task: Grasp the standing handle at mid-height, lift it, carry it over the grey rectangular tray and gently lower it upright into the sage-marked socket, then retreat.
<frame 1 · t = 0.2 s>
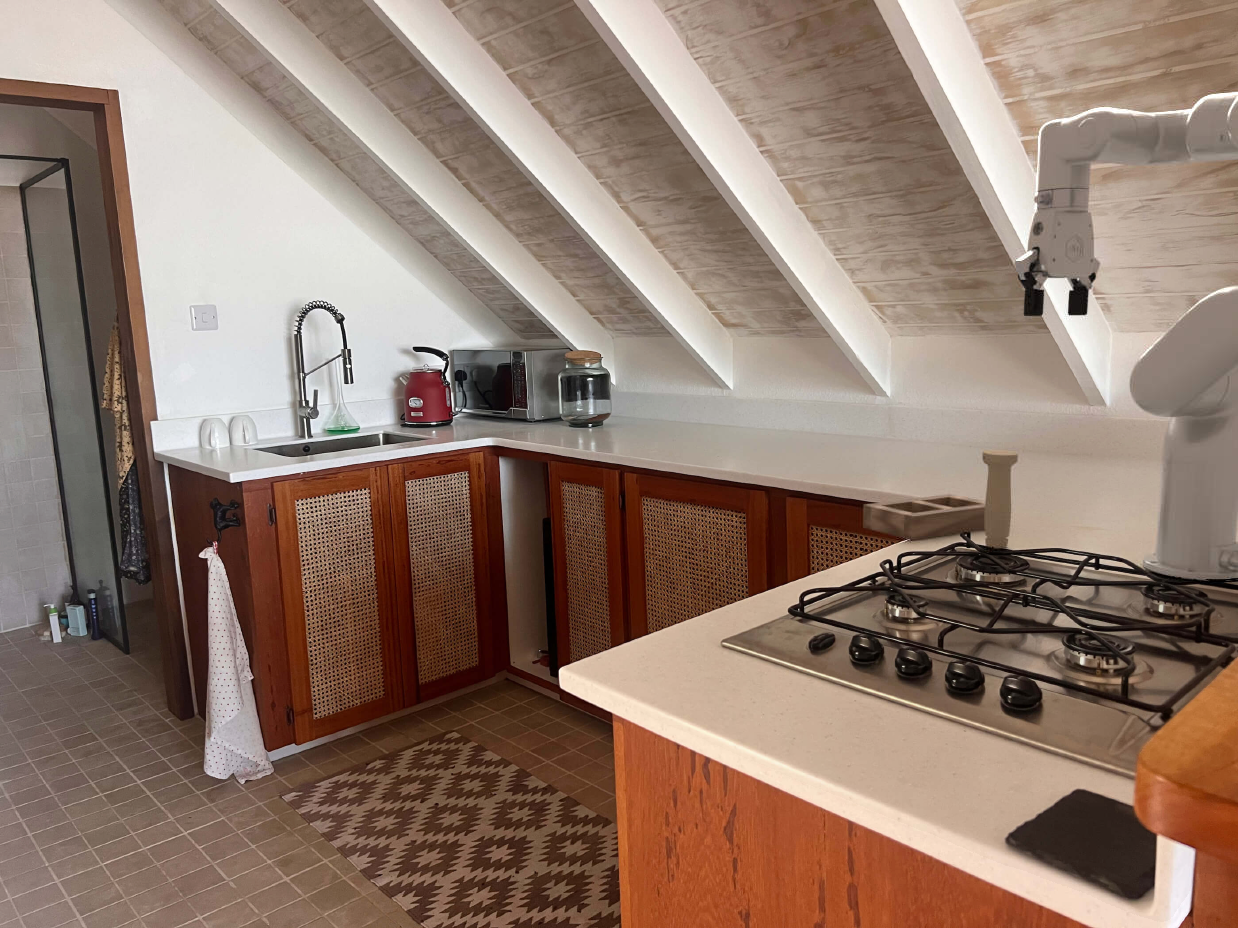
hand: (1055, 315, 151), 36 cm above the worktop, tool pointing down, fingers open, 9 cm apart
handle: (996, 548, 151), on the worktop
grey rectangular tray: (931, 527, 166), on the worktop
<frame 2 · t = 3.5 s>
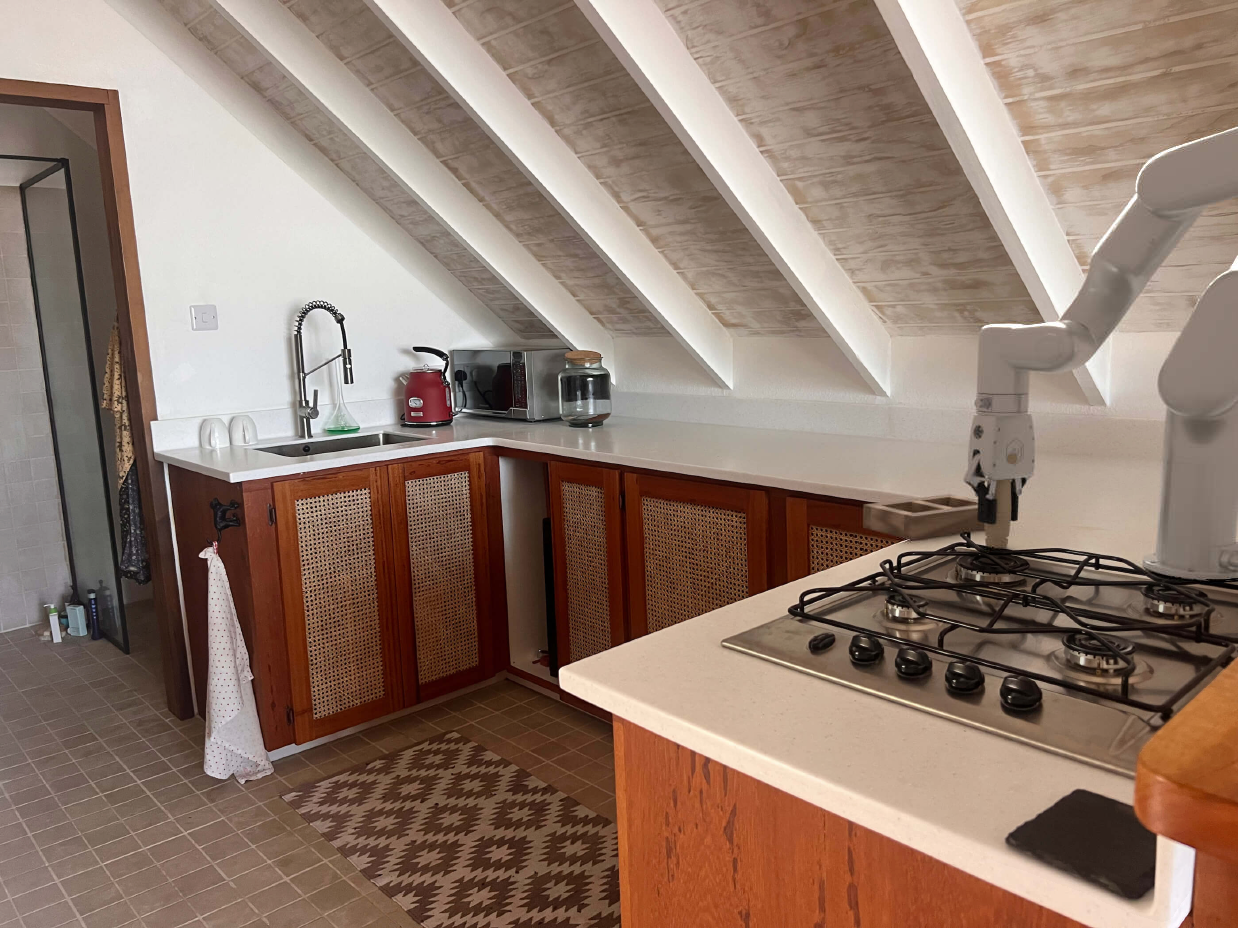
hand: (997, 520, 150), 4 cm above the worktop, tool pointing down, fingers closed on handle, 4 cm apart
handle: (996, 548, 151), on the worktop, touching gripper
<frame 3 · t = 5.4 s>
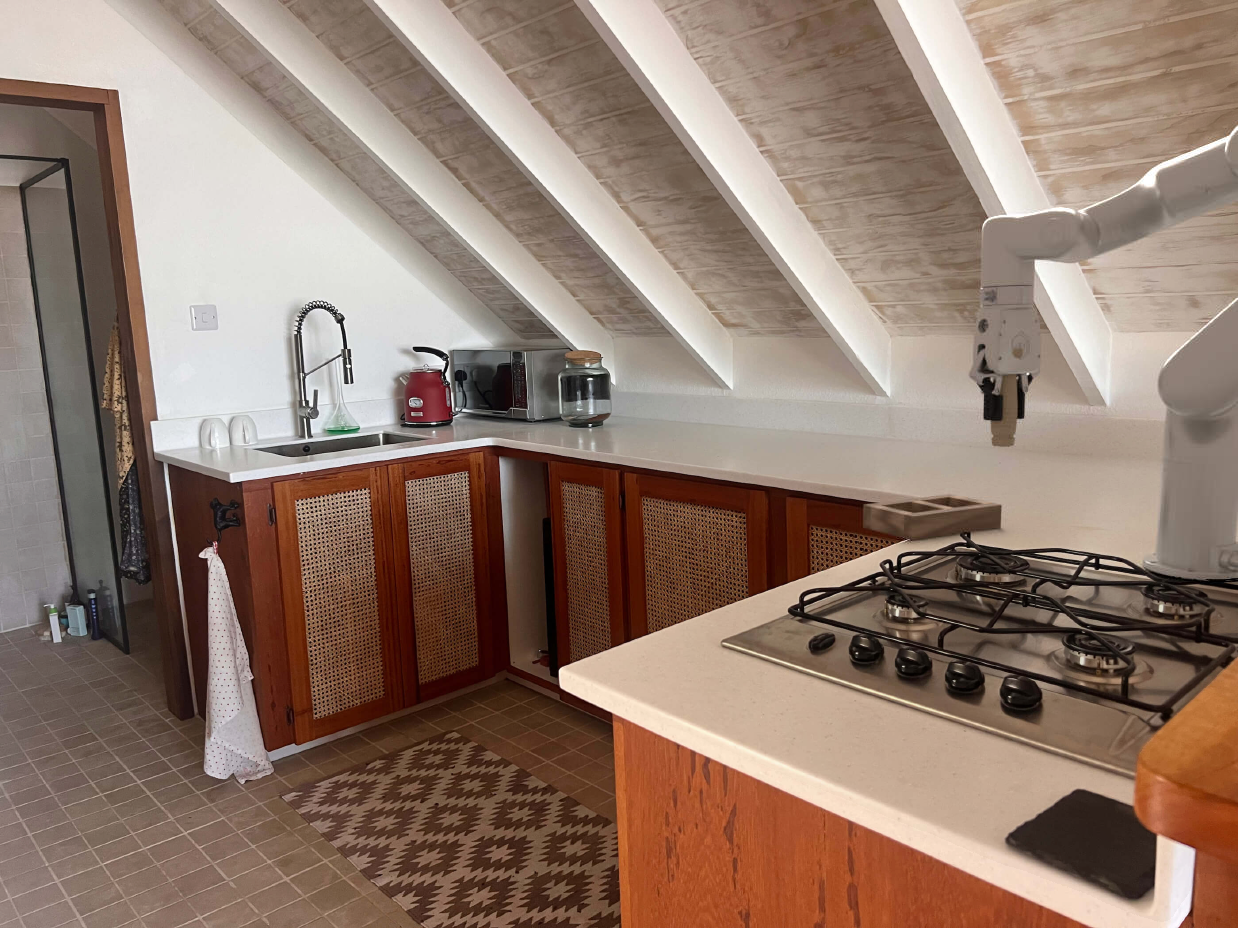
hand: (1003, 418, 148), 20 cm above the worktop, tool pointing down, fingers closed on handle, 4 cm apart
handle: (1002, 447, 148), point 16 cm above the worktop, touching gripper
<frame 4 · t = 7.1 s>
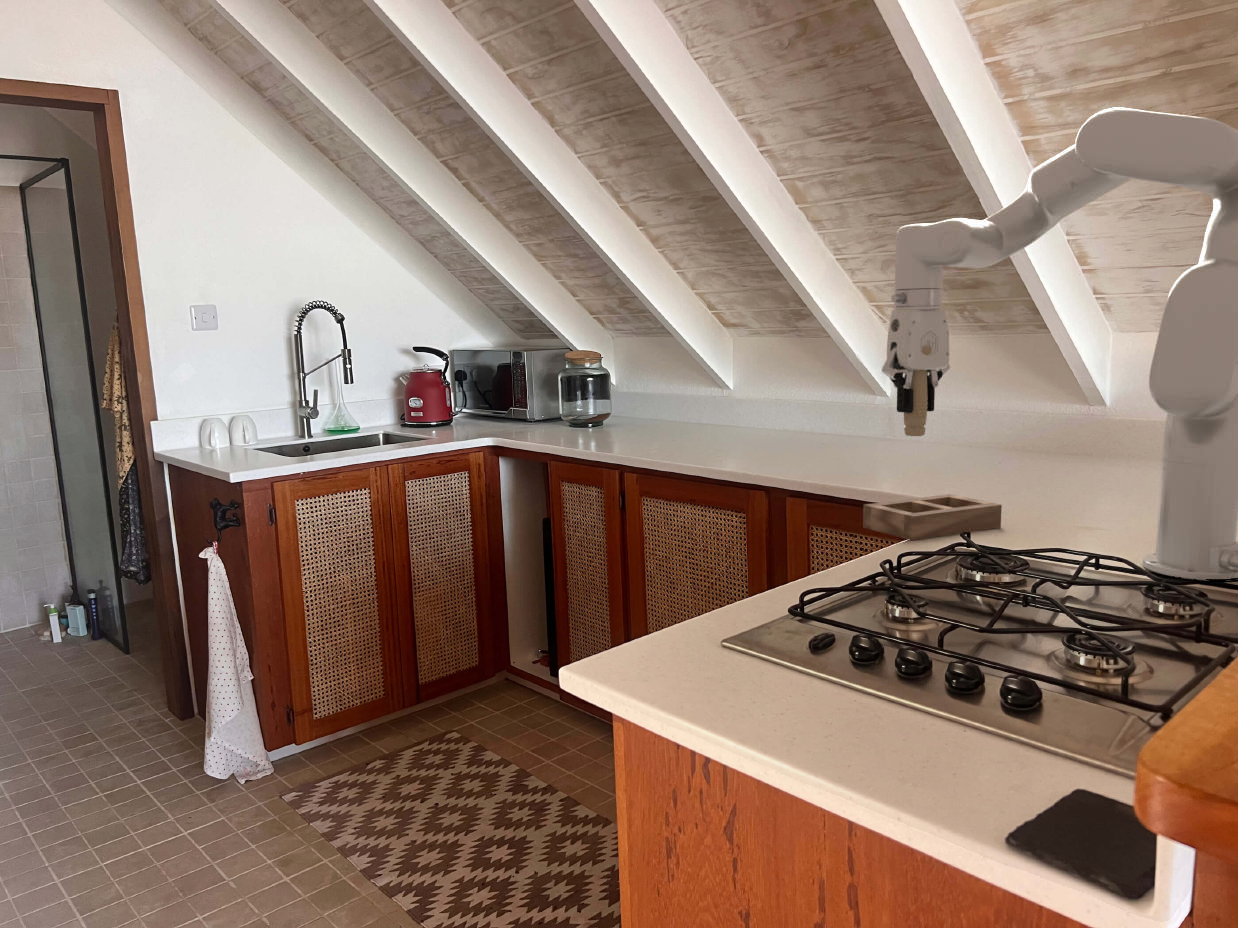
hand: (915, 410, 161), 21 cm above the worktop, tool pointing down, fingers closed on handle, 4 cm apart
handle: (914, 436, 162), point 16 cm above the worktop, touching gripper
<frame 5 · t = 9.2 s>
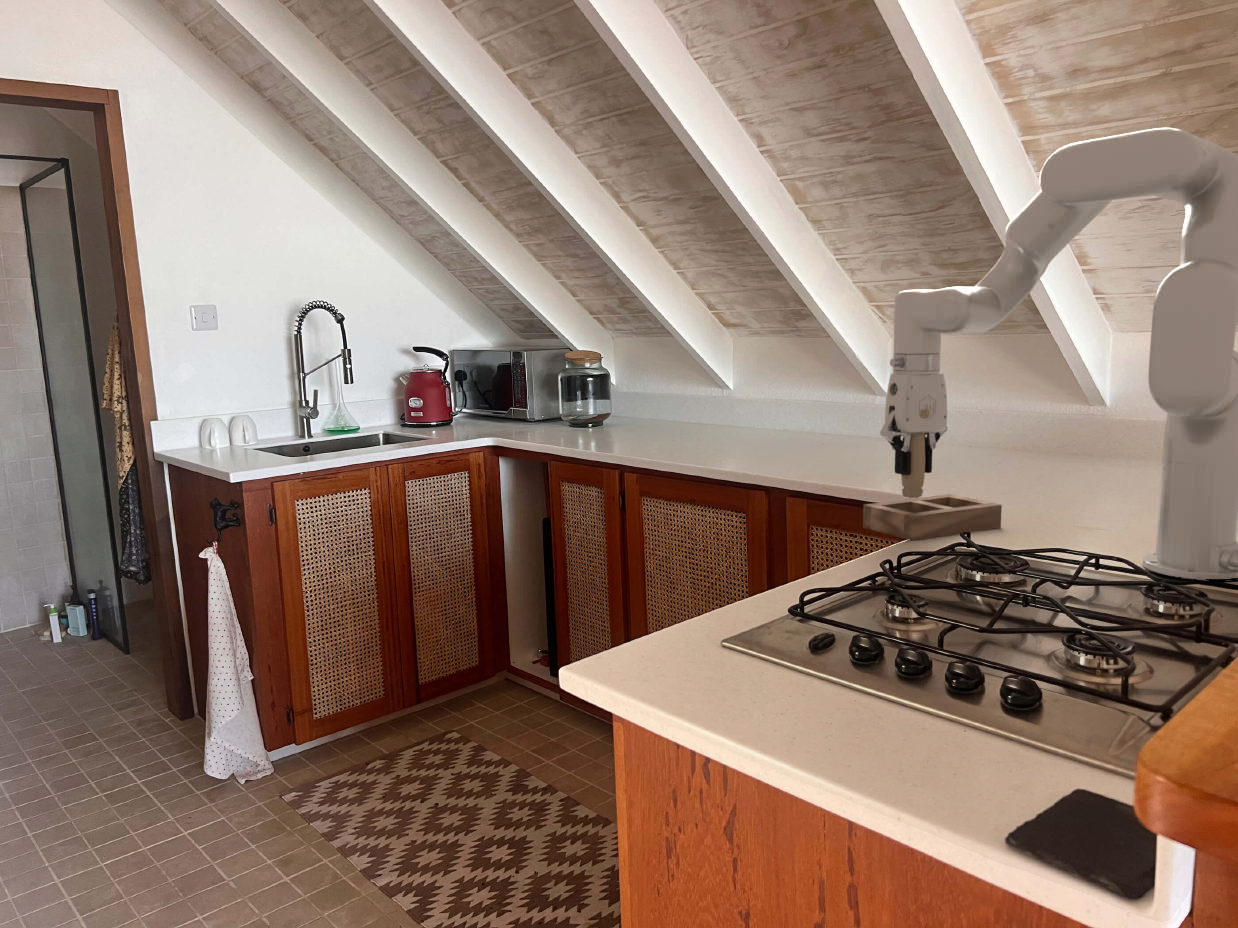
hand: (913, 471, 162), 10 cm above the worktop, tool pointing down, fingers closed on handle, 4 cm apart
handle: (912, 497, 163), point 6 cm above the worktop, touching gripper
when the fingers open (6 cm above the worktop, at t = 10.7 s): handle stays where it is, resting on grey rectangular tray.
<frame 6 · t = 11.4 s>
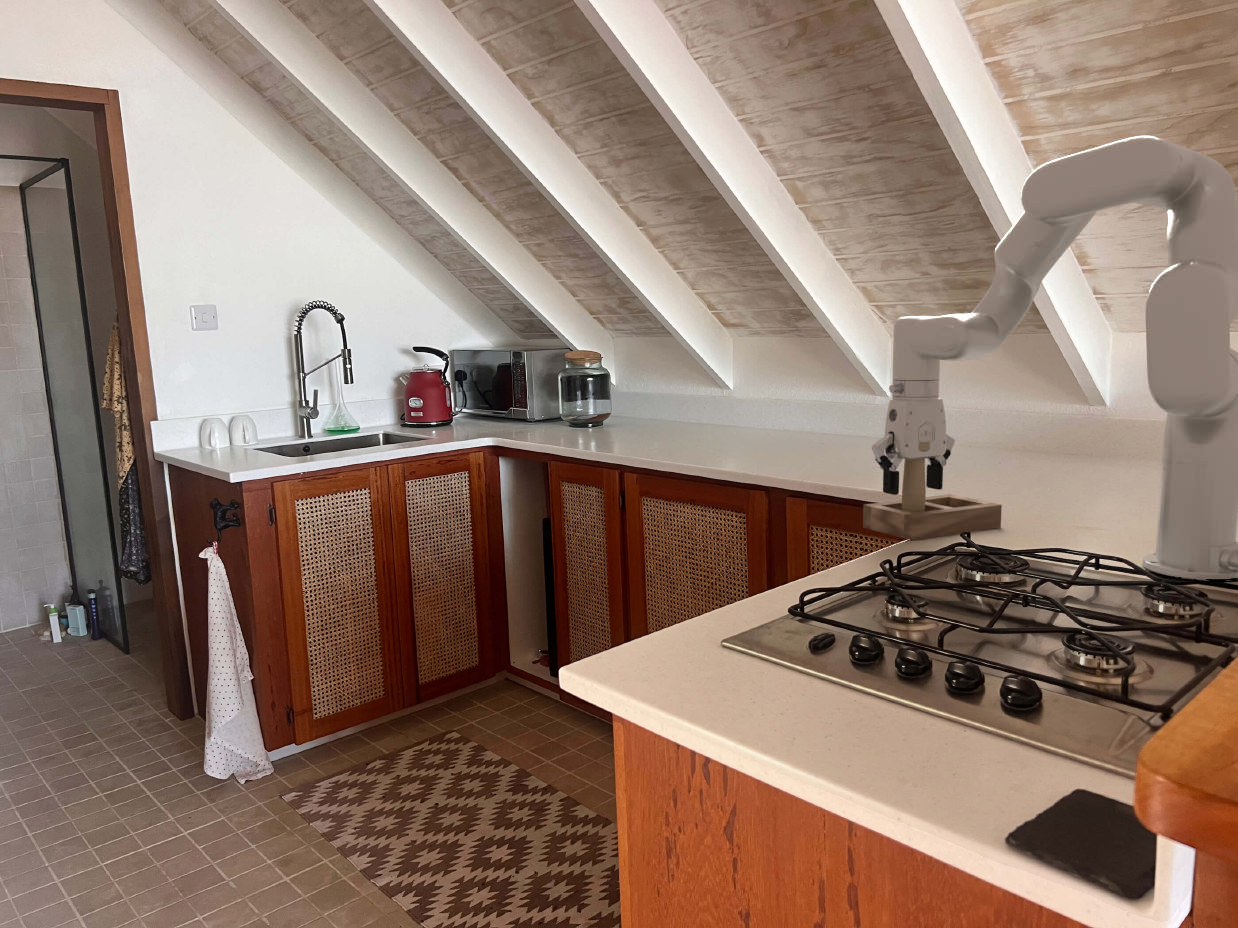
hand: (912, 491, 163), 7 cm above the worktop, tool pointing down, fingers open, 9 cm apart
handle: (912, 529, 164), resting on grey rectangular tray
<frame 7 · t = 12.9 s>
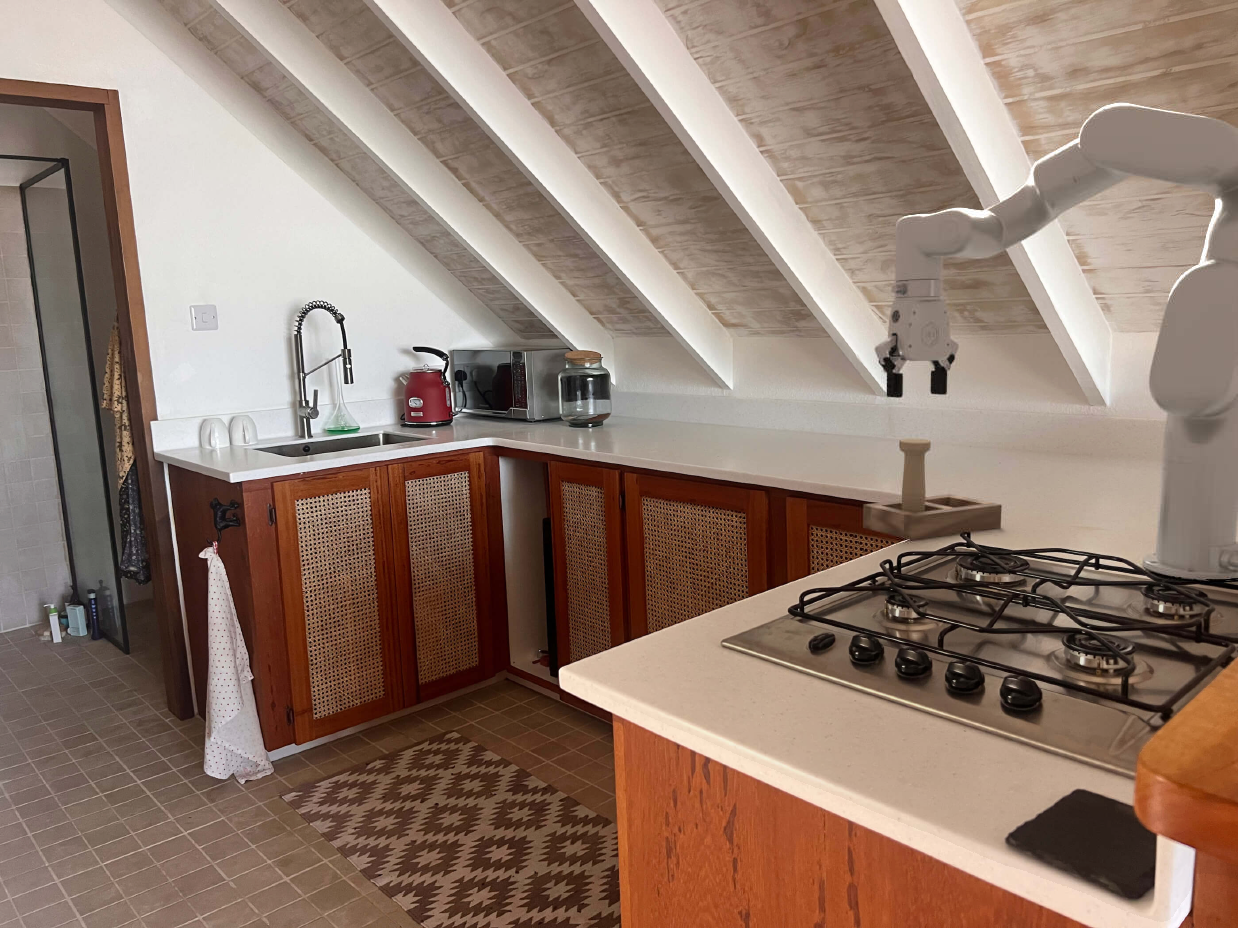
hand: (916, 395, 160), 23 cm above the worktop, tool pointing down, fingers open, 9 cm apart
nothing on the worktop moved.
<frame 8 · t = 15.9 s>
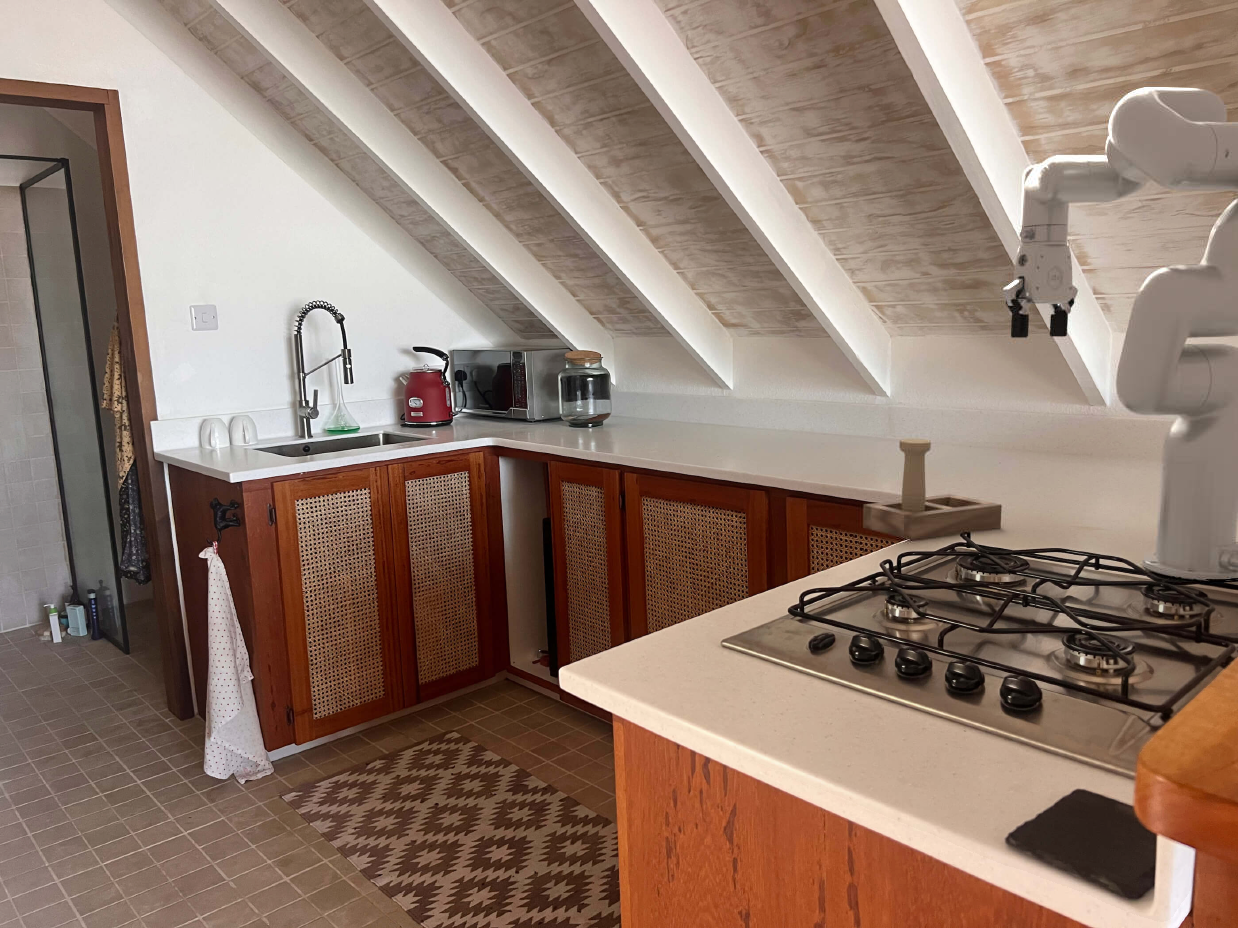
hand: (1039, 337, 169), 32 cm above the worktop, tool pointing down, fingers open, 9 cm apart
nothing on the worktop moved.
at the end: handle 0.2 cm from the target spot on the grey rectangular tray, point 0.2 cm above the grey rectangular tray's base; handle tilted 0°; the gripper is holding nothing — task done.
